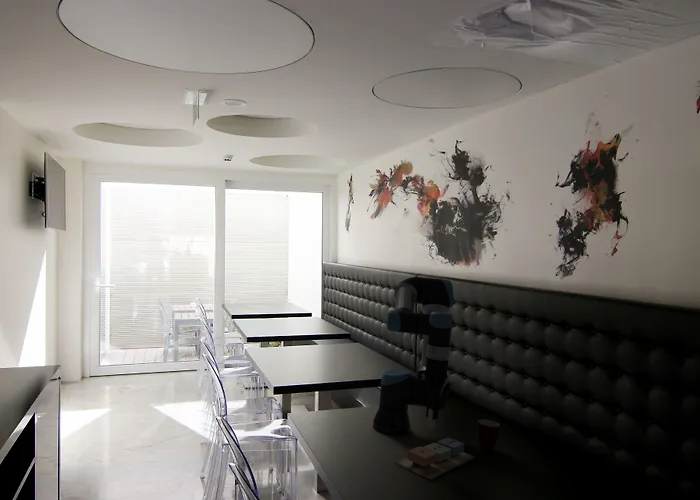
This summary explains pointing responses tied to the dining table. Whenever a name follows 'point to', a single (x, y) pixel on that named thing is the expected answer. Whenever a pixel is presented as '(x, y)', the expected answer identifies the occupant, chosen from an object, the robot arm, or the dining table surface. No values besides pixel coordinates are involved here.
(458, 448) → the tile
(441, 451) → the tile
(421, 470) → the board
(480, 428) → the mug
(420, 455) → the tile
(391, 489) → the dining table surface
